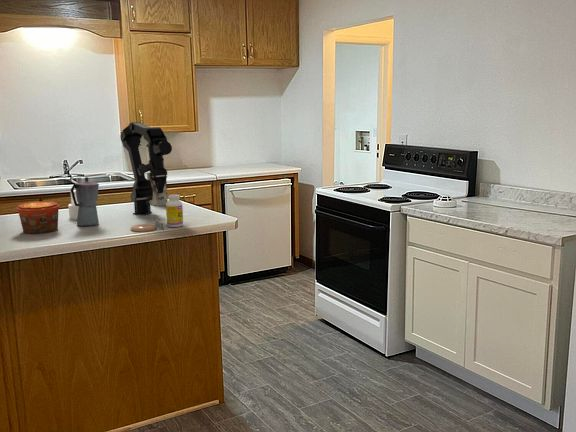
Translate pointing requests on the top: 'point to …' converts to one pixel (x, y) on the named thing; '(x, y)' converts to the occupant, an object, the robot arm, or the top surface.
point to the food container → (39, 217)
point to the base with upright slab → (73, 207)
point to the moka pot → (86, 202)
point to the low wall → (159, 224)
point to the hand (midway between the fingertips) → (160, 193)
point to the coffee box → (158, 197)
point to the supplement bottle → (174, 211)
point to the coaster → (143, 227)
